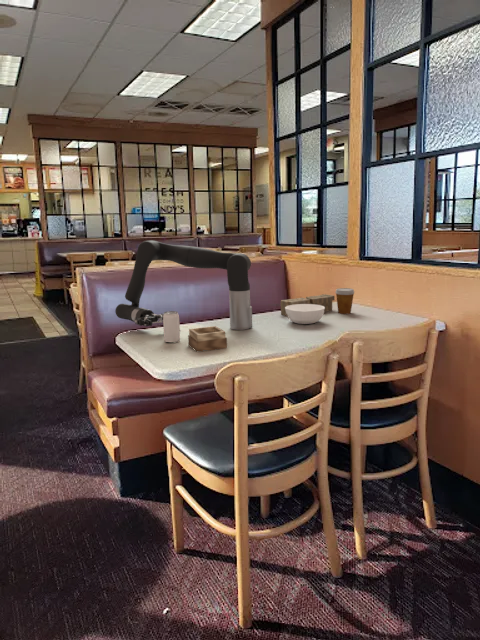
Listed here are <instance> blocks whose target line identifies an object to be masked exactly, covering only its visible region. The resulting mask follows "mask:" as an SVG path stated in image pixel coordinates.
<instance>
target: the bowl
mask: <svg viewBox="0 0 480 640" xmlns="http://www.w3.org/2000/svg"><path fill="white" fill-rule="evenodd" d="M324 309H325V307H324V306H321V305H315V304H295V305H289V306H286V307H285V310H286V314H287V315H288V316H287V318H288V319H289V320H290V322H292V323H294V324H297V325H298V324H299V325H310V324H311V325H312V324H314V323H317V322H319V321H320V320H321V319H322V317H323V315H324V313H325V312H324Z"/></svg>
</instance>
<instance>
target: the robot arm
mask: <svg viewBox="0 0 480 640" xmlns="http://www.w3.org/2000/svg"><path fill="white" fill-rule="evenodd" d="M136 250H137V251H136V255H135V256H136V257H135V262H134V266H133V270H132V274H131V278H130V280H129V283H128V285H127V289H126V291H125V294H124V295H125V296H124V297H125V300H127V301H128V302H130V303H131V304H128V303H120V304H118V305H116V307H115V311H114V312H115V315H116V316H117V318H119V319H121V320H125V321H126V320H127V321H131V322H133V323H135V325H138V326H141V327H142V326H143V327H152V326H153V324H157V323H158V324H162V323H163V315H164V313H161V314H156V313H154V311H152V310H151V309H148V308H145V307H140V299H141V297H142V295H143V293H144V289H145V286H146V285H145V283H146V275H147V271H148V268H149V266H150V265H151V263H152V261H168V262H173V263H176V264H178V265H181V266H184V267H189V268H194V269H220V270H226V274H227V275H226V277H227V285H228V290H229V291H228V296H229V325H230V329H231V330H235V331H236V330H237V331H240V330H241V331H243V330H248V329H252V328H253V306H251V290H250V289H251V287H250V286H251V285H250V282H249V270H250V268H251V267H252V263H251V259H250V257H249V256H248V255H247V254H245V253H242V252H221V251H217V250H214V249H210V248H204V247H199V246H198V247H197V246H193V245H192V246H191V245H190V246H189V245H180V244H179V245H175V244H169V243H164V242H160V241H157V240H152V239H151V240H144V241H142V242H141V243H139V244H138V247H137V249H136Z"/></svg>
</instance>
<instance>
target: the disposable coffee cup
mask: <svg viewBox="0 0 480 640" xmlns="http://www.w3.org/2000/svg"><path fill="white" fill-rule="evenodd" d="M335 294H336V296H335V297H336V305H337V312H338V314H339V315H340V314H341V315H342V314H343V315H347V314H348V315H349V314H351V313H352V308H353V301H354V300H353V299H354V296H355V295H354V294H355V290H354V288H347V287H344V288H342V287H340V288H336V289H335Z"/></svg>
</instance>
